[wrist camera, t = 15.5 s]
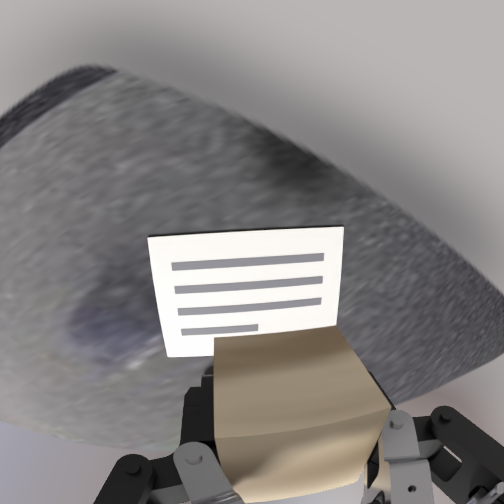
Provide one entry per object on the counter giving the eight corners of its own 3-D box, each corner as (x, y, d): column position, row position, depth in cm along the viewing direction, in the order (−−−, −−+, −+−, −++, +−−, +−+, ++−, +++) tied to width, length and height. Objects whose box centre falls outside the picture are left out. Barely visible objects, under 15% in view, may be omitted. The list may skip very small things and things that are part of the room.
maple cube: (213, 337, 11) (214, 438, 6) (335, 325, 11) (391, 406, 7) (224, 418, 12) (230, 504, 8) (323, 406, 13) (355, 482, 8)
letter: (168, 356, 22) (167, 357, 22) (148, 237, 19) (147, 237, 19) (333, 341, 23) (333, 342, 23) (342, 226, 21) (343, 227, 20)
